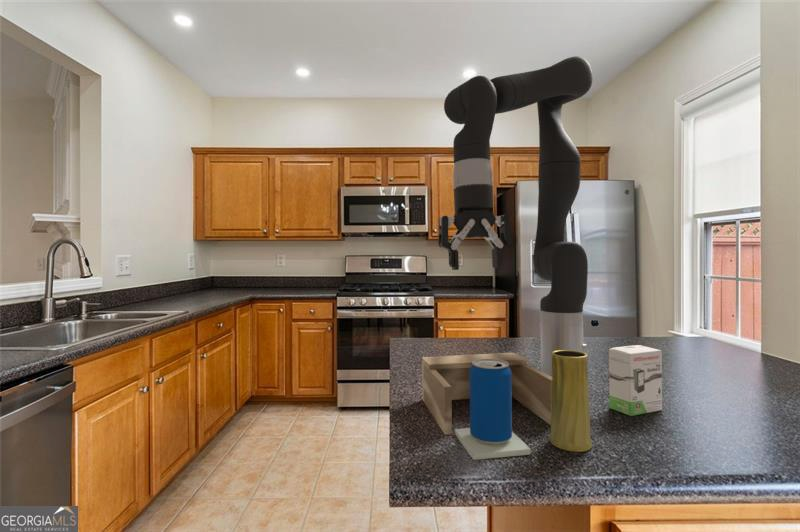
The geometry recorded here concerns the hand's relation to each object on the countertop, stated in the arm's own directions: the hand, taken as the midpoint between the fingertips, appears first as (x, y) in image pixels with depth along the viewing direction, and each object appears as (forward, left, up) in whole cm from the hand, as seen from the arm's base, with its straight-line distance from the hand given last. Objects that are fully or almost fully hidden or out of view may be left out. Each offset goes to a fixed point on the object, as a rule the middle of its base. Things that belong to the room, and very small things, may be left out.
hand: (476, 268), depth 78 cm
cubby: (-1, +2, -28) cm, 28 cm away
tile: (+3, +15, -28) cm, 31 cm away
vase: (-9, +17, -28) cm, 34 cm away
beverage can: (+3, +15, -27) cm, 31 cm away
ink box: (-30, +6, -28) cm, 41 cm away
